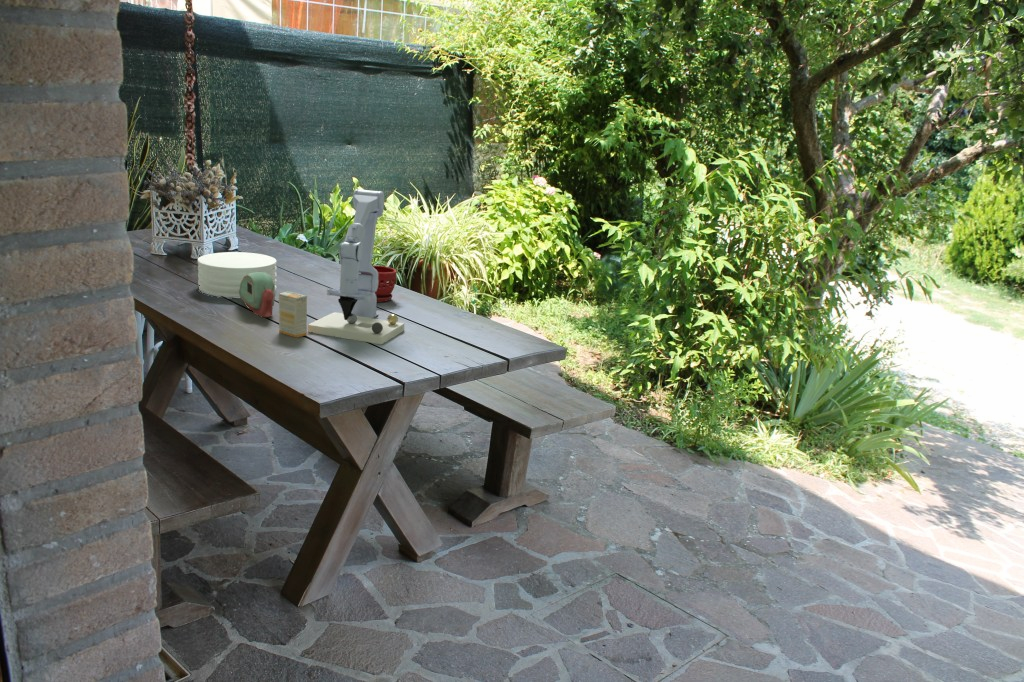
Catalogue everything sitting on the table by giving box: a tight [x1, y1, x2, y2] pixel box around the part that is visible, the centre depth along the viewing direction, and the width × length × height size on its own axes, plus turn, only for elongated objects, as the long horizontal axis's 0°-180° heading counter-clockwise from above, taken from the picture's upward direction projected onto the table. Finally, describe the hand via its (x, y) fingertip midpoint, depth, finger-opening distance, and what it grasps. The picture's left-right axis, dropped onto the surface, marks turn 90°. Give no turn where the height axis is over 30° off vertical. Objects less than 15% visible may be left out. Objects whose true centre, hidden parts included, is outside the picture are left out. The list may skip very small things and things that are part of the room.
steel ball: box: [347, 313, 357, 324], centre depth 282 cm, size 4×4×4 cm
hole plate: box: [307, 311, 405, 345], centre depth 283 cm, size 18×26×2 cm
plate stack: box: [197, 251, 277, 297], centre depth 322 cm, size 28×28×12 cm
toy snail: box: [239, 272, 276, 318], centre depth 295 cm, size 25×8×14 cm, turn 33°
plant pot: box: [360, 265, 397, 303], centre depth 324 cm, size 13×13×12 cm
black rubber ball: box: [372, 322, 383, 333], centre depth 274 cm, size 4×4×4 cm
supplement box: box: [278, 291, 308, 338], centre depth 274 cm, size 8×5×13 cm, turn 55°
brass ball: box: [386, 313, 399, 324], centre depth 285 cm, size 4×4×4 cm
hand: (347, 319), depth 282 cm, fingers closed, pressing on steel ball
